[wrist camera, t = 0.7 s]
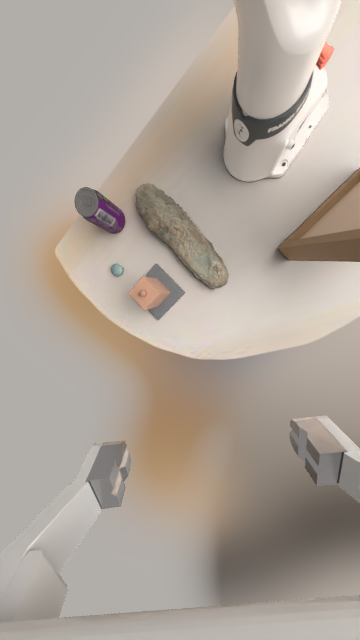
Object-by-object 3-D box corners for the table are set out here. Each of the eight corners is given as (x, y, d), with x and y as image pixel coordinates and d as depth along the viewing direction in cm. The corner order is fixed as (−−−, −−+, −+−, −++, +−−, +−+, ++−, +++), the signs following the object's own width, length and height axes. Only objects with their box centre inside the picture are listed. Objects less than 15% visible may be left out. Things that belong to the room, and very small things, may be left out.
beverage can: (125, 206, 50) (96, 182, 38) (127, 232, 51) (100, 216, 40) (103, 210, 52) (70, 187, 40) (106, 235, 53) (75, 220, 41)
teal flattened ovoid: (118, 261, 53) (115, 260, 52) (126, 269, 53) (123, 269, 52) (111, 270, 54) (108, 269, 53) (119, 278, 54) (116, 278, 53)
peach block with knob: (156, 278, 51) (140, 275, 41) (170, 292, 51) (158, 293, 40) (144, 292, 53) (125, 293, 42) (157, 306, 52) (142, 311, 42)
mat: (157, 263, 51) (156, 263, 50) (185, 292, 50) (184, 292, 50) (132, 292, 54) (131, 292, 54) (158, 319, 54) (158, 320, 53)
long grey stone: (209, 297, 51) (236, 273, 48) (210, 298, 46) (240, 271, 43) (129, 207, 49) (153, 178, 47) (120, 197, 44) (146, 165, 42)
